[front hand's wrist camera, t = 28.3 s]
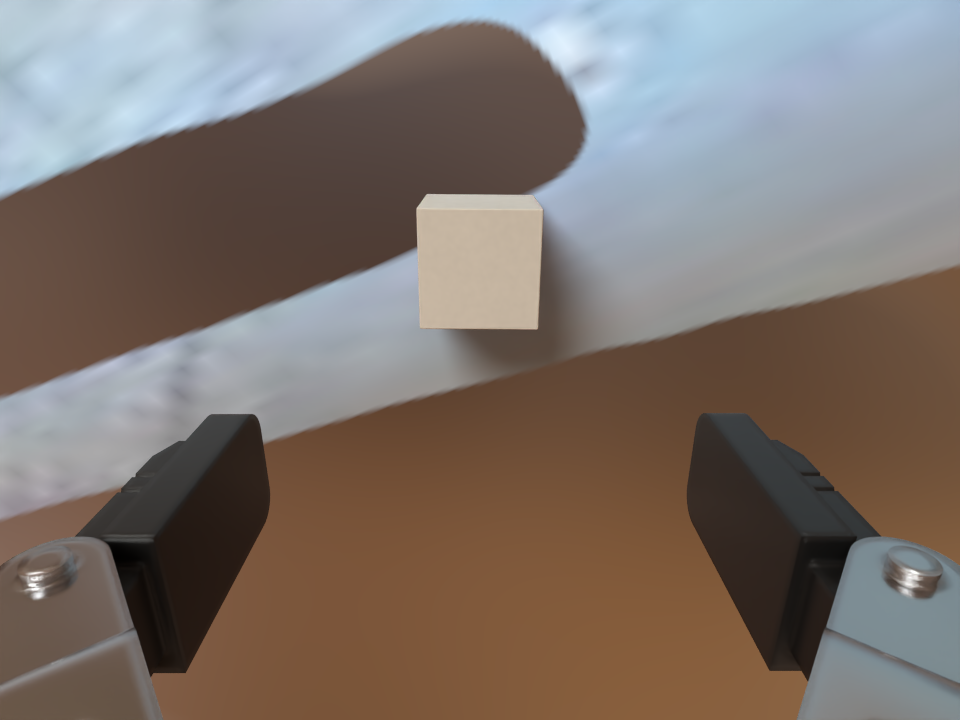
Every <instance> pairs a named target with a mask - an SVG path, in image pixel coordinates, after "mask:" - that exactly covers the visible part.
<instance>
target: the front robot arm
mask: <svg viewBox="0 0 960 720" xmlns="http://www.w3.org/2000/svg"><path fill="white" fill-rule="evenodd" d="M687 504H688V511H689V515H690V518H691V521H692V523H693V525H694V527H695V529H696V531H697V533H698V535H699V537H700V539H701V541H702V543H703V544H704V546H705V548H706V550H707V552H708V554H709V556H710V558H711V560H712V562H713V564H714V565H715V567H716V569H717V571H718V573H719V575H720V577H721V579H722V581H723V583H724V585H725V586H726V588H727V590H728V592H729V594H730V596H731V598H732V600H733V602H734V604H735V606H736V607H737V609H738V611H739V613H740V615H741V617H742V619H743V621H744V623H745V624H746V627H747V628H748V630H749V632H750V634H751V636H752V638H753V640H754V642H755V644H756V646H757V648H758V649H759V651H760V653H761V655H762V657H763V659H764V661H765V663H766V665H767V667H768V669H769V670H770V671H802V672H803V674H804V675H805V677H806V679H807V681H808V685H807V688H806V691H805V695H804V698H803V701H802V704H801V708H800V711H799V714H798V717H797V720H960V566H959V565H958V564H956V563H955V562H953V561H952V560H950V559H949V558H947V557H945V556H944V555H942V554H940V553H938V552H936V551H934V550H932V549H929V548H927V547H925V546H922V545H919V544H916V543H913V542H910V541H906V540H902V539H897V538H890V537H881V536H880V535H879V534H878V533H877V531H876V530H875V529H874V528H873V527H872V526H871V525H870V524H869V523H868V522H867V521H866V520H865V519H864V518H863V517H862V516H861V515H860V514H859V513H858V512H857V511H856V510H855V509H854V507H853V506H852V505H851V504H850V503H849V502H848V501H847V500H846V499H845V498H844V497H843V496H842V495H841V494H840V493H839V492H838V491H834V487H833V486H832V485H831V484H830V482H829V481H828V480H827V479H826V478H825V477H824V476H820V472H819V471H818V470H817V469H816V468H815V467H814V466H813V465H812V464H811V463H810V462H809V461H808V460H807V458H805V456H804V455H802V454H801V453H799V452H797V451H795V450H794V449H792V448H790V447H788V446H787V445H785V444H783V443H781V442H780V441H778V440H770V439H769V438H768V437H767V436H766V434H765V433H764V432H763V431H762V430H761V429H760V428H759V427H758V426H757V424H756V423H755V422H754V421H753V420H752V419H751V418H750V417H749V416H748V415H747V414H745V413H703V414H701V416H700V417H699V419H698V421H697V425H696V431H695V437H694V444H693V451H692V458H691V465H690V471H689V478H688V485H687ZM269 505H270V488H269V481H268V474H267V467H266V461H265V454H264V447H263V440H262V434H261V427H260V423H259V421H258V418H257V417H256V416H255V415H253V414H211V415H209V416H208V417H207V418H206V419H205V420H204V421H203V422H202V423H201V425H200V426H199V427H198V428H197V429H196V430H195V431H194V432H193V433H192V434H191V435H190V437H189V438H188V439H187V440H186V441H178V442H177V443H175V444H173V445H171V446H170V447H168V448H166V449H164V450H163V451H161V452H159V453H157V454H156V455H154V456H152V457H151V458H150V460H149V461H148V462H147V463H146V464H145V465H144V466H143V467H142V468H141V469H140V470H139V471H138V472H137V473H136V477H132V478H131V479H130V480H129V481H128V482H127V483H126V484H125V485H124V486H123V487H122V488H121V493H117V494H116V495H115V496H114V497H113V498H112V499H111V500H110V501H109V502H108V503H107V504H106V505H105V506H104V507H103V508H102V509H101V510H100V511H99V512H98V513H97V514H96V515H95V516H94V518H92V519H91V521H90V522H89V523H88V524H87V525H86V526H85V527H84V528H83V529H82V530H81V531H80V532H79V533H78V534H77V535H76V536H75V537H70V538H63V539H59V540H54V541H50V542H47V543H44V544H41V545H38V546H35V547H33V548H31V549H28V550H26V551H24V552H22V553H20V554H18V555H16V556H15V557H13V558H11V559H10V560H8V561H7V562H5V563H4V564H2V565H1V566H0V720H163V717H162V714H161V711H160V708H159V704H158V701H157V698H156V694H155V691H154V688H153V684H152V681H151V676H152V674H153V673H186V671H187V669H188V667H189V666H190V664H191V662H192V660H193V658H194V656H195V654H196V652H197V651H198V649H199V647H200V645H201V643H202V641H203V639H204V637H205V635H206V634H207V632H208V630H209V628H210V626H211V624H212V622H213V620H214V618H215V617H216V615H217V613H218V611H219V609H220V607H221V605H222V603H223V602H224V600H225V598H226V596H227V594H228V592H229V590H230V588H231V586H232V584H233V583H234V581H235V579H236V577H237V575H238V573H239V571H240V569H241V568H242V566H243V564H244V562H245V560H246V558H247V556H248V554H249V552H250V550H251V549H252V547H253V545H254V543H255V541H256V539H257V537H258V535H259V534H260V532H261V530H262V528H263V526H264V524H265V522H266V519H267V516H268V511H269Z"/></svg>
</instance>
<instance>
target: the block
mask: <svg viewBox="0 0 960 720" xmlns="http://www.w3.org/2000/svg"><path fill="white" fill-rule="evenodd" d="M543 211H544V210H543V209H542V207H541V206H540V204H539V203H538V201H537V200H536V199H535V197H534V196H533V195H454V194H453V195H452V194H427V195H426V196H425V198H424V199H423V200H422V202H421V203H420V205H419V206H418V208H417V242H418V277H419V312H420V328H421V329H526V330H537V329H538V320H539V298H540V276H541V254H542V233H543Z"/></svg>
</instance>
